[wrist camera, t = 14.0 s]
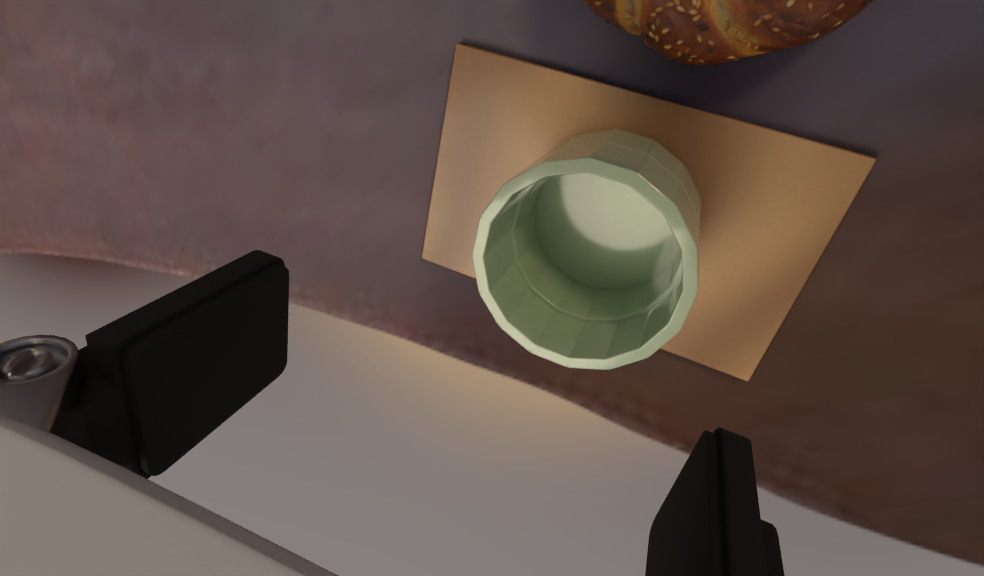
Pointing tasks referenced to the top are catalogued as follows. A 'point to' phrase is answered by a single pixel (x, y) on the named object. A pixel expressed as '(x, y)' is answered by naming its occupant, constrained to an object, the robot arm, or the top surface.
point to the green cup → (592, 251)
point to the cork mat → (710, 163)
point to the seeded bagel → (725, 25)
